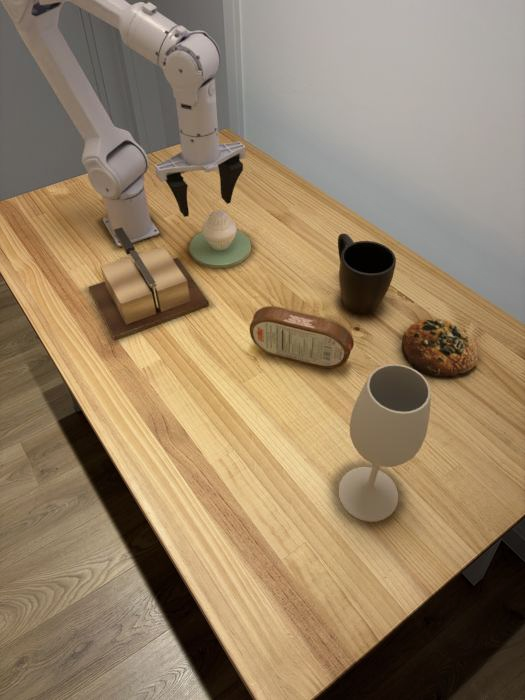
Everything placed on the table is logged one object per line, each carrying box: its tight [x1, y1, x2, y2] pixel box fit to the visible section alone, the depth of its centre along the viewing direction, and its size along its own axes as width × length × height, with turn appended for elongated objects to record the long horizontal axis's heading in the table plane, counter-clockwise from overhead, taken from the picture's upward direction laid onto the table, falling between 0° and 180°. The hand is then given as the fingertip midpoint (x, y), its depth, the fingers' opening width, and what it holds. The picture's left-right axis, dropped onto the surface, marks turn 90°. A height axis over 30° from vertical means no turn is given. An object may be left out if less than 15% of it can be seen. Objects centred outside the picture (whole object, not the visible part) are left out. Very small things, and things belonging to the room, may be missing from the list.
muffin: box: [201, 209, 238, 251], centre depth 96 cm, size 6×6×7 cm
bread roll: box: [401, 318, 479, 377], centre depth 82 cm, size 11×11×5 cm
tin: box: [249, 305, 355, 369], centre depth 79 cm, size 15×3×8 cm, turn 71°
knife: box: [114, 227, 159, 309], centre depth 90 cm, size 16×1×5 cm, turn 29°
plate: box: [188, 229, 252, 269], centre depth 99 cm, size 11×11×1 cm
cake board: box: [87, 245, 210, 341], centre depth 89 cm, size 13×16×5 cm
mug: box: [337, 232, 397, 316], centre depth 87 cm, size 8×12×10 cm
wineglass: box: [338, 363, 432, 523], centre depth 60 cm, size 8×8×21 cm
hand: (205, 206), depth 91 cm, fingers open, 7 cm apart
